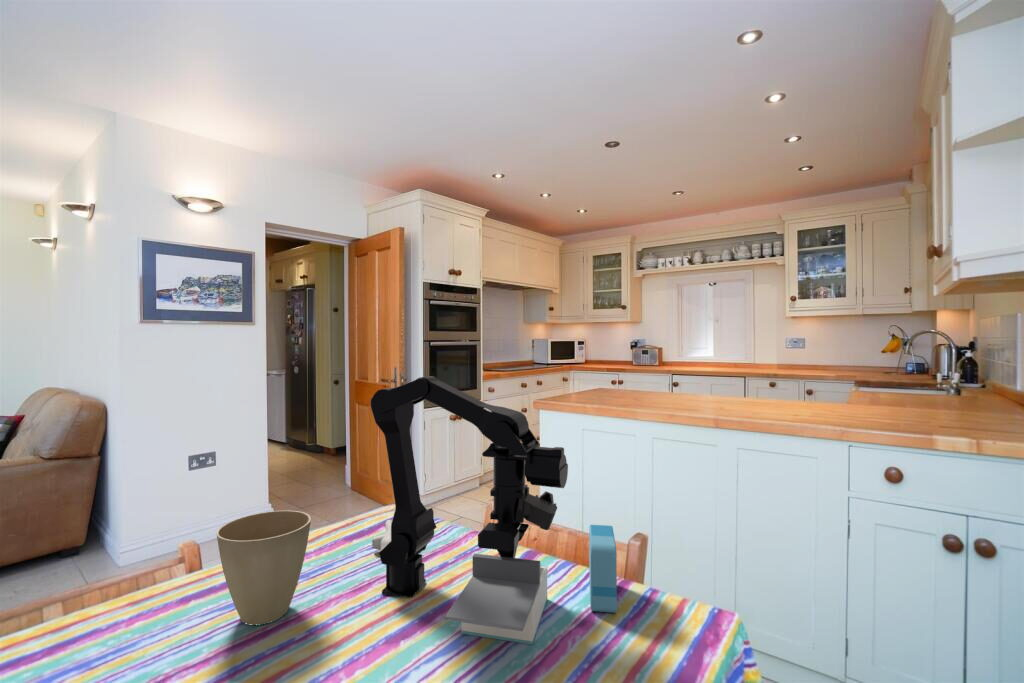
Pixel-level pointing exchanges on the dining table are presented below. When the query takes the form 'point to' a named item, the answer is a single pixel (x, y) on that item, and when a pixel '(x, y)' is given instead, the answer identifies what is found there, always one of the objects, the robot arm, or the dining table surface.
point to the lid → (498, 592)
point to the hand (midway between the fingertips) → (509, 568)
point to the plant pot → (263, 562)
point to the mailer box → (530, 625)
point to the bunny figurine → (383, 538)
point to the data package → (602, 569)
